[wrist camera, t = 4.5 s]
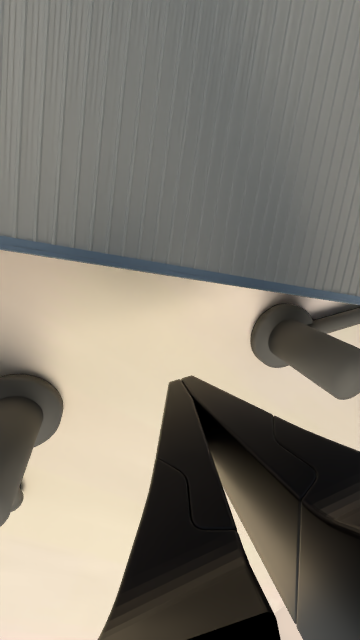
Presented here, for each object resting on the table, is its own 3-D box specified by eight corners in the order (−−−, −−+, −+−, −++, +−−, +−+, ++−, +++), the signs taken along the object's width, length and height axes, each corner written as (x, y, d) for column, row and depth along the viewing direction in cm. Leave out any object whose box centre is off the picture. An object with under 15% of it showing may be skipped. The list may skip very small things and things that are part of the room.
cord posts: (359, 376, 19) (440, 421, 14) (9, 500, 14) (-40, 633, 9) (371, 280, 16) (477, 297, 11) (-59, 392, 11) (-178, 502, 6)
